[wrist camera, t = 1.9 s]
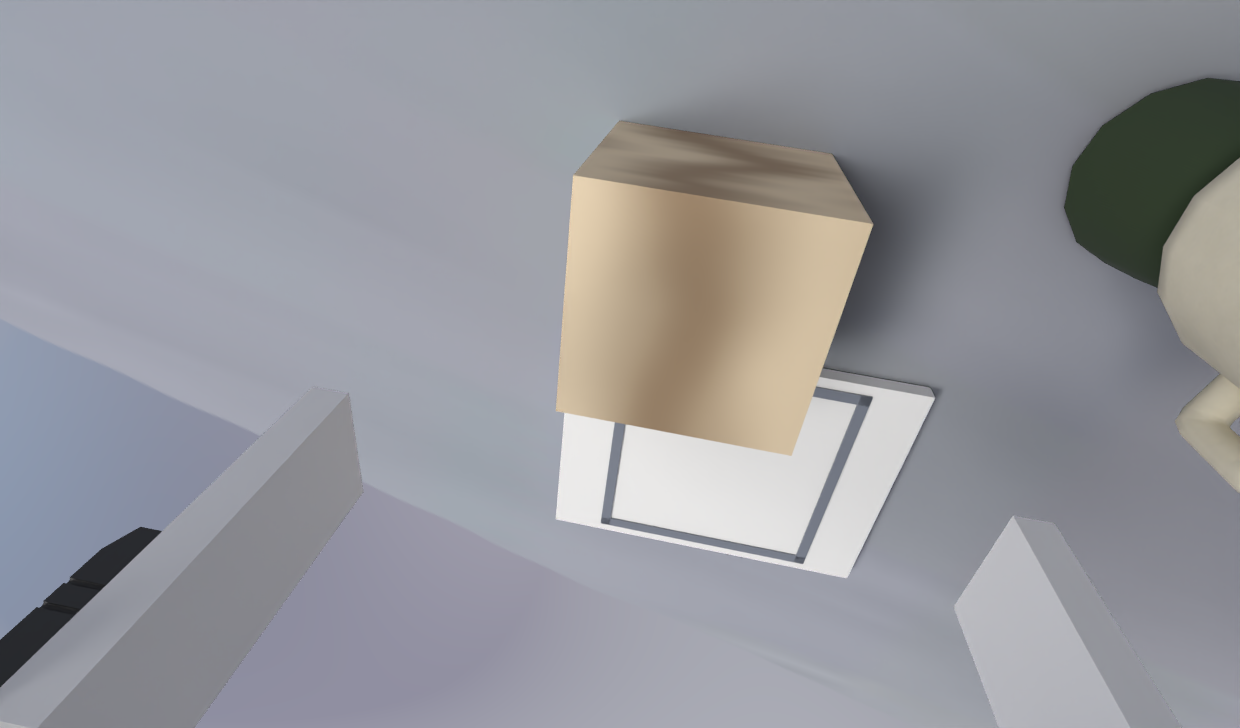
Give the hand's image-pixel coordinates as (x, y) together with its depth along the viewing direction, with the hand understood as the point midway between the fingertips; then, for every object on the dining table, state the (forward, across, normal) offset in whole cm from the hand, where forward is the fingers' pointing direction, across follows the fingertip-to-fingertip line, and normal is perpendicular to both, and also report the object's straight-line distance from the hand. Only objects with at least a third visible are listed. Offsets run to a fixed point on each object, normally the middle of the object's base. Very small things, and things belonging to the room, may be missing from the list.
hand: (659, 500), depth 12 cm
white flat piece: (+15, +4, -11) cm, 19 cm away
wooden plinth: (+15, 0, 0) cm, 15 cm away
